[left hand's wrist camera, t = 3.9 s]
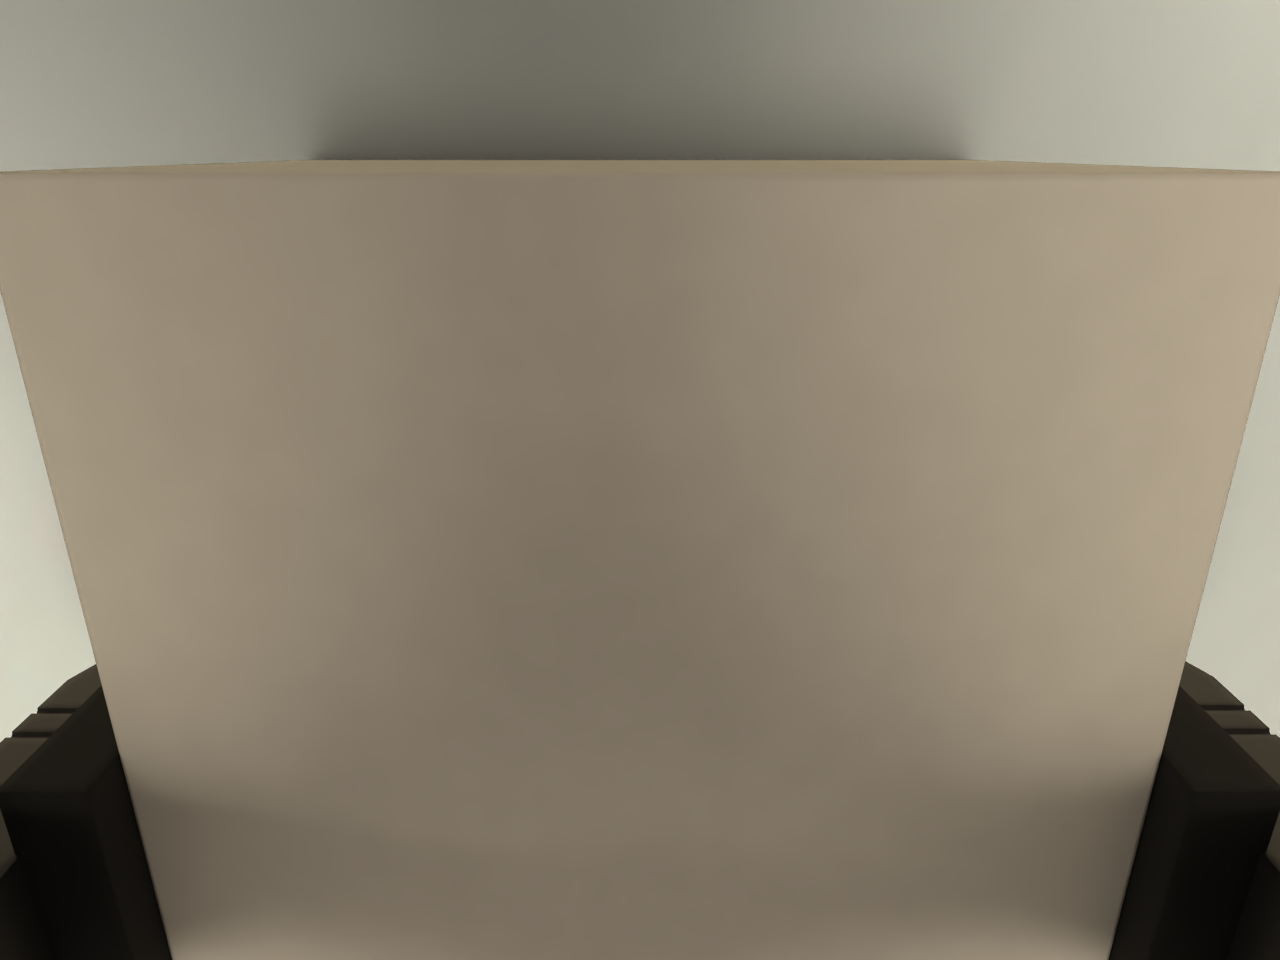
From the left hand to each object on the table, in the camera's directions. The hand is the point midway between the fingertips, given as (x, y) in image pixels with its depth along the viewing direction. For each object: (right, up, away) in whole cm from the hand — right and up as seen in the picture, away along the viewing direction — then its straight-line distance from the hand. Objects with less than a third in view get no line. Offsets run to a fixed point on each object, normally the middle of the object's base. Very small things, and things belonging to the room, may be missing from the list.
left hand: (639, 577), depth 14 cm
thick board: (0, -20, +8) cm, 22 cm away
